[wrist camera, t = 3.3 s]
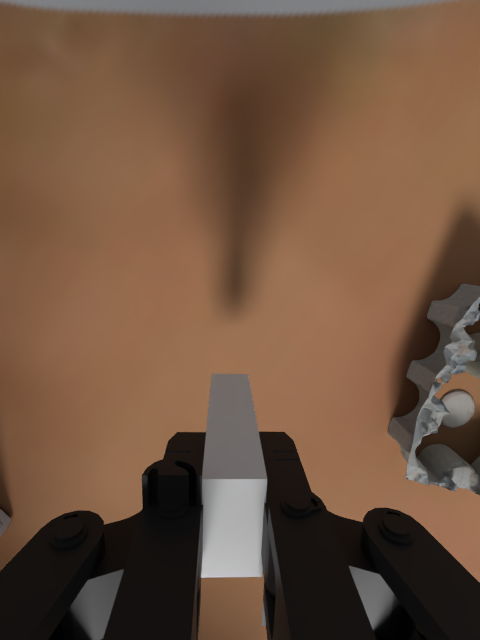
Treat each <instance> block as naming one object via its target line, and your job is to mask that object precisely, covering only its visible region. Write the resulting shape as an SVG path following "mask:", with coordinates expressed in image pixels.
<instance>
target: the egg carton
mask: <svg viewBox="0 0 480 640" xmlns="http://www.w3.org/2000/svg"><path fill="white" fill-rule="evenodd" d="M479 304H480V286H476V285H469V284H461V285H460V287H459V288H458V290H457V291H456V292H455V293H454V294H453V295H451V296H450V297H449V298H446V299H444V300H433V301H432V303H431V305H430V308H429V311H428V314H427V318H428V319H429V320H431V321H432V322H433V323H435V325H436V326H437V327H438V329H439V332H440V342H439V345H438V347H437V349H436V350H435V352H434V353H433V354H432V355H430V356H429V357H427V358H425V359H421V360H412V361H411V364H410V367H409V370H408V372H407V378H408V379H410V380H411V381H412V382H414V383H415V384H416V386H417V387H418V389H419V402H418V404H417V406H416V407H415V408H414V409H413V410H412V411H411V412H410V413H409V414H407V415H404V416H401V417H393V418H392V420H391V422H390V425H389V428H388V434H389V435H390V436H391V437H392V438H393V439H395V440H396V441H397V443H398V444H399V445H400V446H401V453H402V455H403V458H404V459H405V460H406V461H407V462H408V466H407V475H406V476H405V478H406V479H410V480H413V481H416V482H419V483H422V484H425V485H429V484H434V485H438V486H441V487H444V488H447V489H449V490H451V491H456V490H457V487H459V488H465V489H469V490H471V491H473V492H474V493H476V494H478V495H480V457H478V458H477V459H476V460H475V461H474V462H473V463H472V464H471V465H469V464H468V463H467V462H466V461H464V460H463V459H462V458H461V457H460V456H459V455H458V454H457V453H455V452H454V451H453V450H452V449H451V448H449V447H448V446H446V445H443V444H433V445H429V446H427V447H426V448H424V449H423V450H422V451H421V452H420V453H419V455H418V456H417V457H416V455H415V449H416V447H417V446H418V445H419V444H420V443H421V440H422V438H423V436H427V435H429V434H432V433H437V432H438V427H439V426H440V424H442V425H443V426H446V427H450V428H456V427H459V426H462V425H464V424H466V423H467V422H468V421H469V420H470V418H471V417H472V415H473V414H474V410H475V408H474V407H475V403H474V400H473V398H472V396H471V395H470V394H469V393H467V392H465V391H463V390H455V391H451V392H449V393H447V394H446V395H444V396H443V397H442V398H441V399H440V400H439V399H438V398H436V397H435V396H433V395H434V394H435V393H436V392H437V391H438V390H440V388H441V385H442V384H443V383H448V381H449V379H450V378H451V374H459V373H463V372H467V373H469V374H471V375H473V376H475V377H477V378H479V379H480V332H478V333H473V334H470V335H468V334H467V333H466V331H465V330H464V327H465V326H467V325H474V322H475V321H479V318H480V311H479V310H478V307H479ZM437 378H441V380H442V382H441V384H440V383H437Z"/></svg>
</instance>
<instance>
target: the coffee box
mask: <svg viewBox="0 0 480 640" xmlns="http://www.w3.org/2000/svg"><path fill="white" fill-rule="evenodd" d="M10 523H11V519H10V518H9V516H8V515H6V514H5V513H4V512H3V511H2V510H1V509H0V536H1V535H2V534H3V532H4V531H5V530H6V529H7V527H8V526H9V525H10Z"/></svg>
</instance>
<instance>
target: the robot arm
mask: <svg viewBox="0 0 480 640" xmlns="http://www.w3.org/2000/svg"><path fill="white" fill-rule="evenodd" d="M142 495H143V509H142V510H141V511H140V512H139V513H137V514H135V515H133V516H132V517H129V518H127V519H124V520H121V521H117V522H113V523H109V524H105V525H104V521H103V520H102V518H101V517H100V516H99V515H98V514H96V513H93V512H91V511H74V512H69V513H65V514H63V515H61V516H59V517H57V518H55V519H53V520H51V521H50V522H49V523H47V524H46V525H45V526H44V527H43V528H41V529H40V530H39V531H38V532H37V534H36V535H35V536H34V537H33V538H32V539H31V540H30V541H29V542H28V543H27V544H26V545H25V546H24V547H23V548H22V549H21V550H20V551H19V552H18V553H17V555H16V556H15V557H14V558H13V559H12V560H11V561H10V562H9V563H8V564H7V565H6V566H5V567H4V568H3V569H2V570H1V571H0V640H198V632H199V616H200V598H201V578H210V577H262V565H263V573H264V595H263V612H262V626H266V630H267V639H268V640H480V583H479V582H478V581H477V580H476V579H475V578H474V577H473V576H472V575H471V574H470V573H469V572H468V571H467V570H466V569H465V568H464V567H463V566H462V565H461V564H460V563H459V562H458V561H457V560H456V559H455V558H454V557H453V556H452V555H451V554H450V553H449V552H448V551H447V550H446V549H445V548H444V547H443V546H442V545H441V544H440V543H439V542H438V541H437V540H436V539H435V538H434V537H433V536H432V535H431V534H430V533H429V532H428V531H427V530H426V529H425V528H424V527H423V526H422V525H421V524H420V523H418V522H417V521H416V520H415V519H413V518H412V517H411V516H409V515H407V514H405V513H403V512H400V511H398V510H394V509H390V508H375V509H373V510H370V511H368V512H367V514H366V515H365V517H364V519H363V522H359V521H355V520H351V519H347V518H344V517H341V516H338V515H335V514H333V513H331V512H329V511H327V509H326V506H325V505H324V503H323V502H322V500H321V499H320V498H319V497H318V496H316V495H315V494H314V493H312V492H311V489H310V486H309V483H308V481H307V478H306V475H305V472H304V469H303V466H302V464H301V461H300V458H299V455H298V453H297V449H296V447H295V444H294V441H293V440H292V439H291V438H290V437H289V436H288V435H287V434H286V433H285V432H259V431H258V426H257V420H256V415H255V409H254V404H253V399H252V393H251V388H250V382H249V377H248V374H212V376H211V387H210V397H209V408H208V418H207V429H206V432H177V433H176V434H175V435H174V436H173V437H172V438H171V439H170V440H169V441H168V444H167V448H166V451H165V455H164V458H163V460H160V461H157V462H155V463H153V464H152V465H150V466H149V467H147V468H146V470H145V471H144V473H143V474H142Z"/></svg>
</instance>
